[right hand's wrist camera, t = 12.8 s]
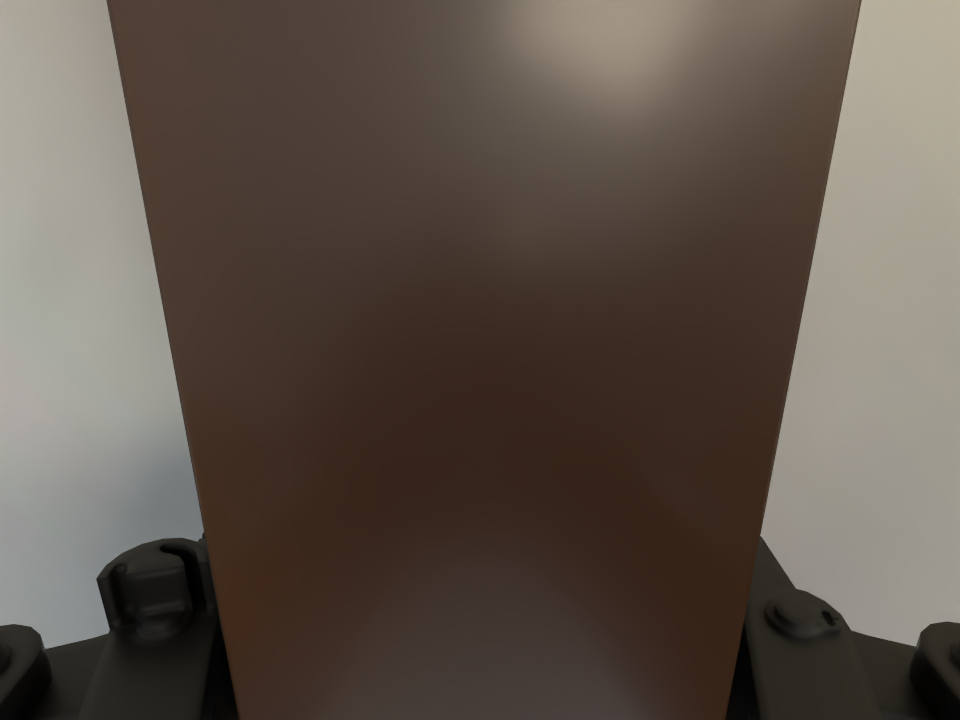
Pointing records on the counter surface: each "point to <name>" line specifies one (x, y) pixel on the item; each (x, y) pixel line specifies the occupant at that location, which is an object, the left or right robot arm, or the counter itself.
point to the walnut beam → (483, 334)
